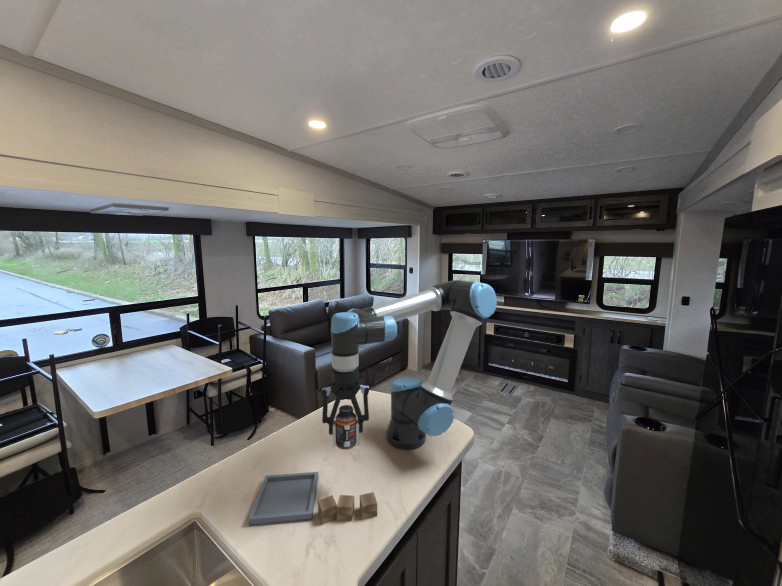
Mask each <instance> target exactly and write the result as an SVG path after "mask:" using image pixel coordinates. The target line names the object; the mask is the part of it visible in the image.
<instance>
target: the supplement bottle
mask: <svg viewBox="0 0 782 586" xmlns="http://www.w3.org/2000/svg"><path fill="white" fill-rule="evenodd" d="M356 419H357V416H356V413H355V412H354V407H353V405H350V404H343V405H341V406H340V407H338V413H336V415H335V420H336V447H337V448H338V449H340V450H344V451H345V450H351V449H353V448H354V447H355V446H357V445H356Z"/></svg>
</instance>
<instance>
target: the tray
mask: <svg viewBox="0 0 782 586" xmlns="http://www.w3.org/2000/svg"><path fill="white" fill-rule="evenodd" d="M319 479H320V477H319V471H312V472H311V471H310V472H297V473H296V472H295V473H284V474H283V473H282V474H271V475H265V476H264V478H263V481H262V484H261V486H260V489H259V491H258V494H257V496H256V498H255V501H254V503H253V507H252V508H251V511H250V514H249V517H248V519H247V523H248V527H255V526H256V527H257V526H258V527H259V526H267V525H277V524H288V523H297V522H309V521H312V520H313V515H314V510H315V509H314V508H315V502H316V501H315V500H316V496H317V490H318V484H319V483H318V482H319Z"/></svg>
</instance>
